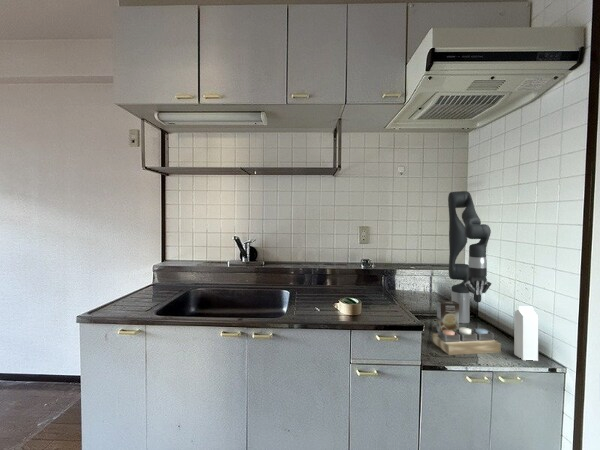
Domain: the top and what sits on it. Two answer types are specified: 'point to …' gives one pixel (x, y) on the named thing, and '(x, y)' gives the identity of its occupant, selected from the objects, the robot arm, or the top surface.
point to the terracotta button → (448, 332)
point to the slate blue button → (481, 331)
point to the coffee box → (447, 315)
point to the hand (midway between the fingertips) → (477, 301)
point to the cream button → (464, 330)
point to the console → (467, 343)
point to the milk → (526, 333)
